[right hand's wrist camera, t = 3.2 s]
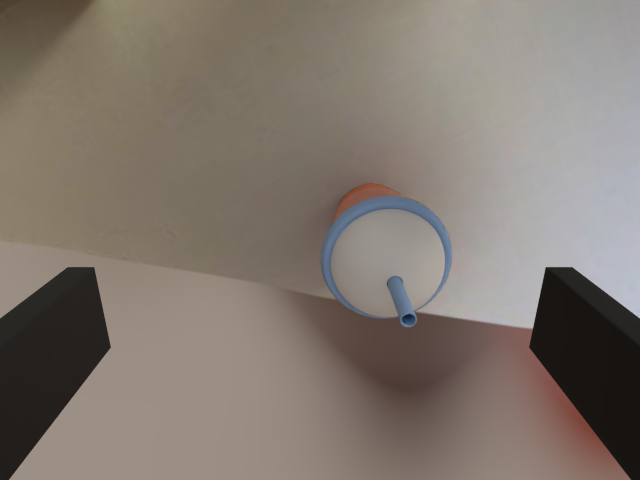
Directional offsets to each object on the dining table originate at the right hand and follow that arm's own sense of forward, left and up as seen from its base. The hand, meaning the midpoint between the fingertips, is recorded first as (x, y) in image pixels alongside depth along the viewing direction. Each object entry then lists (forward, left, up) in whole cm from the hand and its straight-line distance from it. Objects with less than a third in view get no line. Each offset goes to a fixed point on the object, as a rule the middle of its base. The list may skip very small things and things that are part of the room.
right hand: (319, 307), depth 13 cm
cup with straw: (+5, +5, -27) cm, 27 cm away
